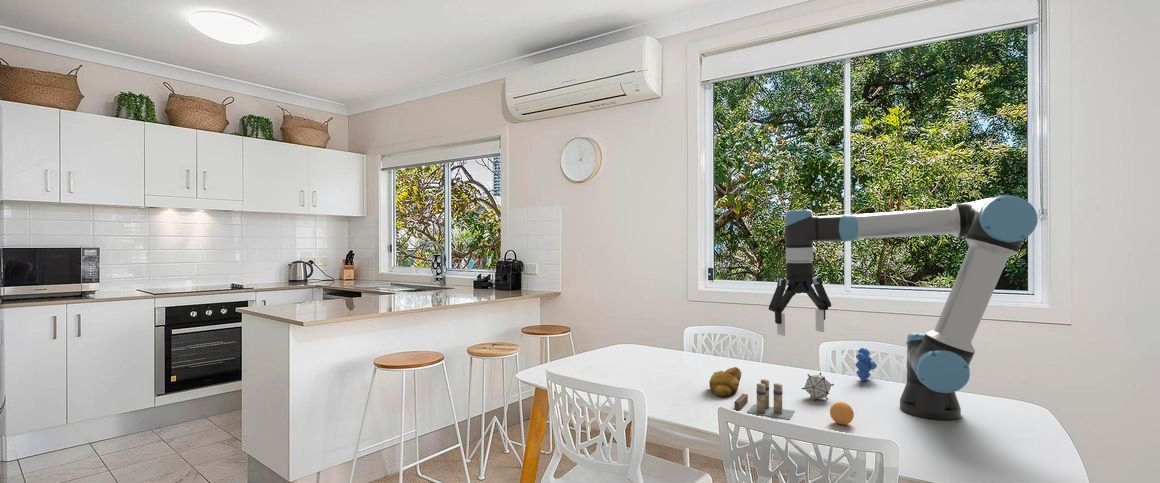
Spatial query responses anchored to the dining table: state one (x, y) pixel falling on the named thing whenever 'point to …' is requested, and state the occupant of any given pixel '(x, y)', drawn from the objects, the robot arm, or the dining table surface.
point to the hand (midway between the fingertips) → (800, 333)
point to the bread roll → (725, 381)
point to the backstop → (741, 402)
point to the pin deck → (772, 412)
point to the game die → (817, 386)
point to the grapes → (864, 364)
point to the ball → (841, 413)
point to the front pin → (778, 398)
